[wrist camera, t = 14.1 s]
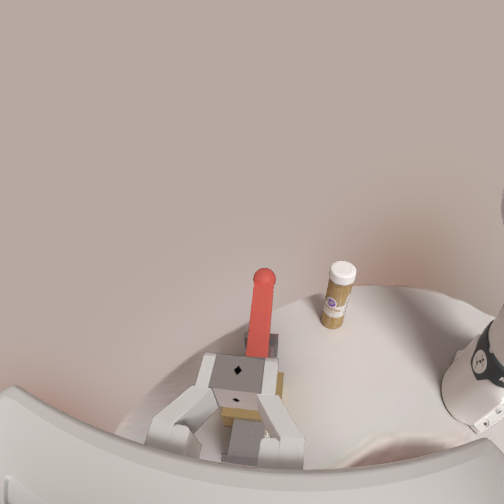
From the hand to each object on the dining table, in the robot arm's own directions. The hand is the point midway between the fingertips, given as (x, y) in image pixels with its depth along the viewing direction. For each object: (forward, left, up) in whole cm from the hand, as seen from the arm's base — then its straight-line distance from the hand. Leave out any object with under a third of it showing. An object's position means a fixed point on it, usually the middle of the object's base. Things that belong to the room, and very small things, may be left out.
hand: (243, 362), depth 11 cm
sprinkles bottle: (-11, -30, -32) cm, 45 cm away
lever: (+2, -10, -26) cm, 28 cm away
